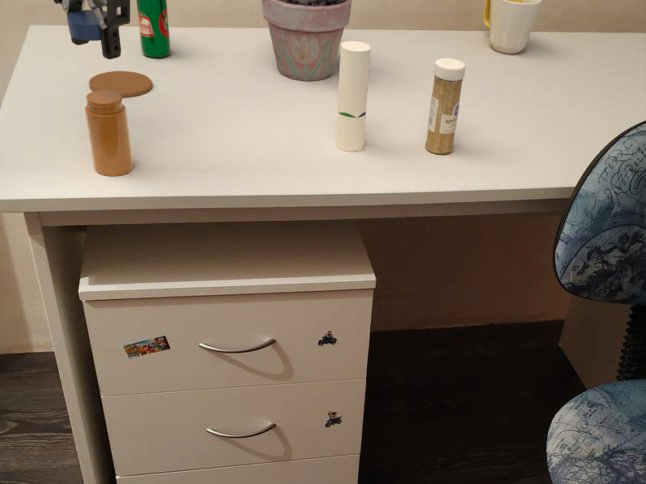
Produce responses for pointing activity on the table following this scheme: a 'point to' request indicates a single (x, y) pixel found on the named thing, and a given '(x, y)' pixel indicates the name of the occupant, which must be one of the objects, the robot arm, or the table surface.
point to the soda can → (154, 28)
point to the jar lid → (84, 25)
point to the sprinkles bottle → (444, 105)
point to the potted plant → (306, 35)
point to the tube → (352, 95)
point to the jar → (108, 133)
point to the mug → (510, 23)
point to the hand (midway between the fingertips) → (96, 49)
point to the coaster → (121, 83)
